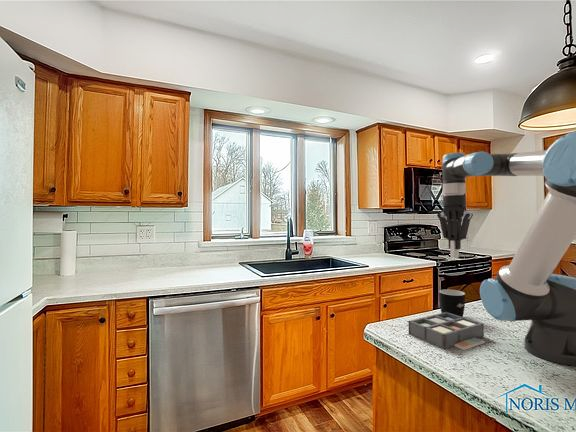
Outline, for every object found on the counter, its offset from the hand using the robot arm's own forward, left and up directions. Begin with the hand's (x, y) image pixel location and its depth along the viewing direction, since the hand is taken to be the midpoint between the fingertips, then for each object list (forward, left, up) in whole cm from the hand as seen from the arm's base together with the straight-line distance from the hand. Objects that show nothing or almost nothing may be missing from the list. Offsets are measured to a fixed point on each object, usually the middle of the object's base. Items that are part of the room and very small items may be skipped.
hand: (454, 257), depth 113 cm
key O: (-9, +8, -22) cm, 25 cm away
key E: (-3, +20, -23) cm, 31 cm away
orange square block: (-9, +14, -23) cm, 29 cm away
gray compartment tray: (-8, +14, -24) cm, 29 cm away
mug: (+4, -5, -25) cm, 25 cm away
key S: (-9, +20, -22) cm, 31 cm away
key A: (-3, +8, -23) cm, 25 cm away
